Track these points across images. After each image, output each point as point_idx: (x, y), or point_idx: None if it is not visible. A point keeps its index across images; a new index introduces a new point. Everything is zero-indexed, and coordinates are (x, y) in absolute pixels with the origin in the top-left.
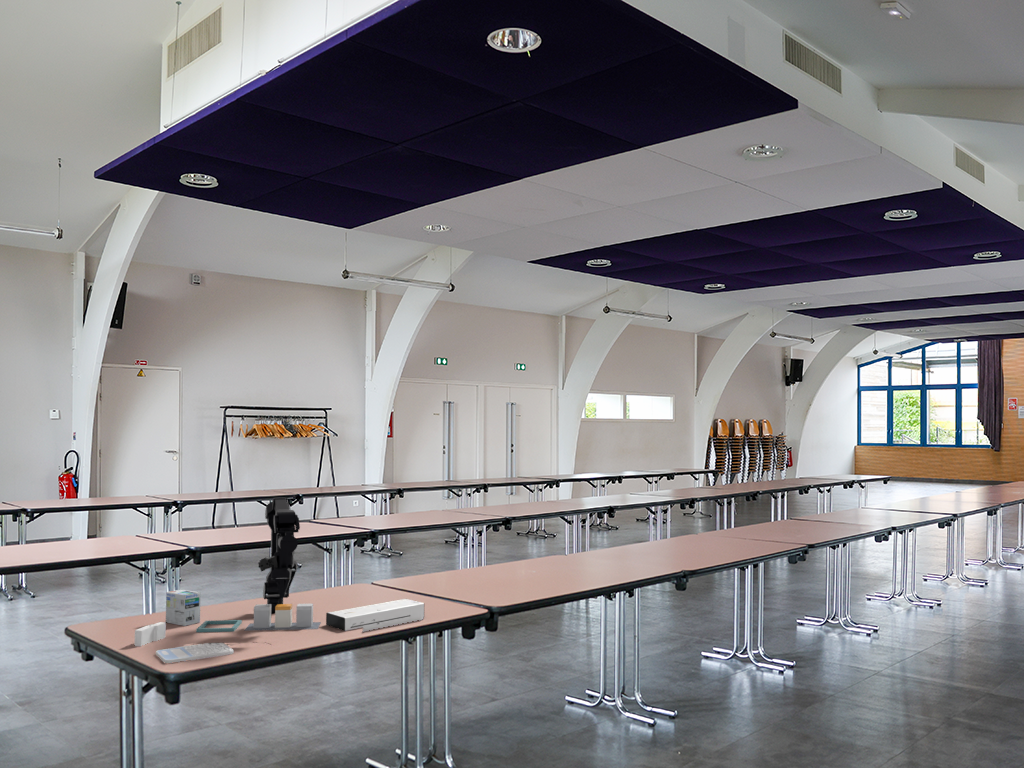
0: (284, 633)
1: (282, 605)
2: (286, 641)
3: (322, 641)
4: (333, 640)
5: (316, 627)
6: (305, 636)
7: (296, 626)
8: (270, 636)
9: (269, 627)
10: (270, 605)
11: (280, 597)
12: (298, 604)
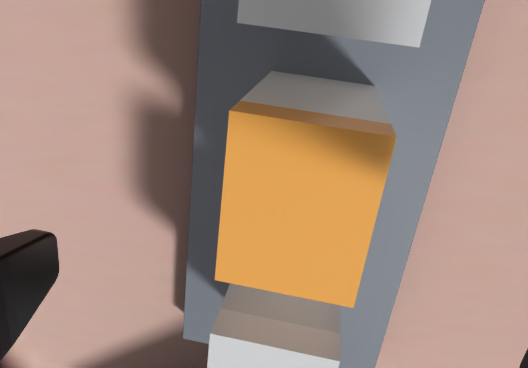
0: None
1: (284, 200)
2: (21, 146)
3: None
4: (46, 363)
5: None
6: (133, 255)
7: None
8: (154, 36)
9: None
10: (345, 36)
11: (35, 235)
12: (302, 358)
